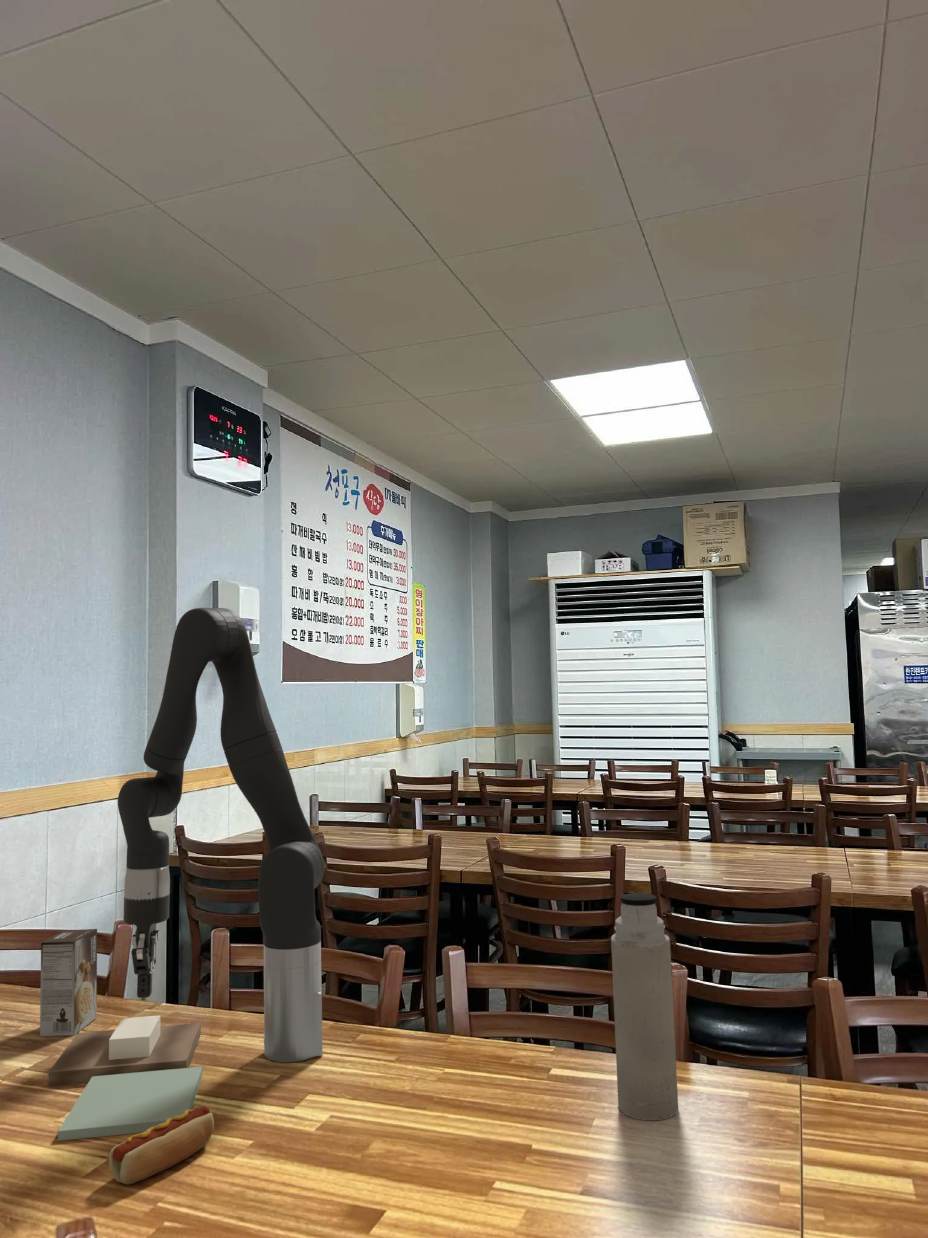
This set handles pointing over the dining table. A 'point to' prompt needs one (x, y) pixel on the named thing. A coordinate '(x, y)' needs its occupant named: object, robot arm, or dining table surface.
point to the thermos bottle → (643, 1011)
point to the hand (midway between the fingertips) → (144, 996)
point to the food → (161, 1146)
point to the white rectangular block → (134, 1037)
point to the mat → (130, 1102)
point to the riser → (93, 1059)
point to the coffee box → (68, 982)
